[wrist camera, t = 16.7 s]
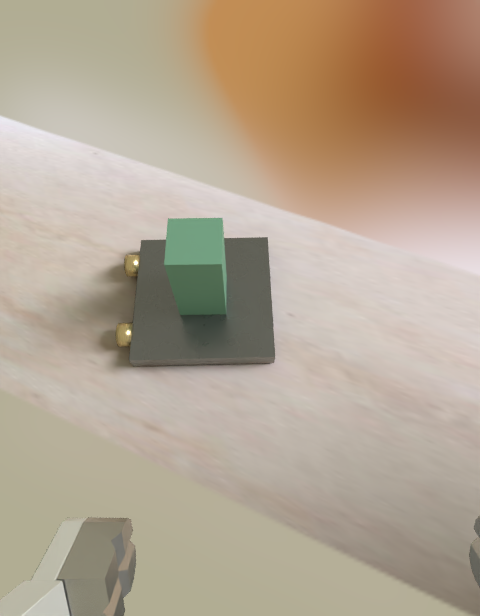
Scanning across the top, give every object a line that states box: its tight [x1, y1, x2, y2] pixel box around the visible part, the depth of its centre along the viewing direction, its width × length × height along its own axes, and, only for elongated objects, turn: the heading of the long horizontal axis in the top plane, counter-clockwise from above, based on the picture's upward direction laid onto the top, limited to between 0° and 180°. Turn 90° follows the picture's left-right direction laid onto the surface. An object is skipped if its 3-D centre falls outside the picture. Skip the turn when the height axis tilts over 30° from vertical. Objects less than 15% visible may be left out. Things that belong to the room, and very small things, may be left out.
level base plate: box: [116, 237, 275, 366], centre depth 37 cm, size 13×13×2 cm
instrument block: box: [164, 218, 227, 315], centre depth 33 cm, size 4×5×8 cm
